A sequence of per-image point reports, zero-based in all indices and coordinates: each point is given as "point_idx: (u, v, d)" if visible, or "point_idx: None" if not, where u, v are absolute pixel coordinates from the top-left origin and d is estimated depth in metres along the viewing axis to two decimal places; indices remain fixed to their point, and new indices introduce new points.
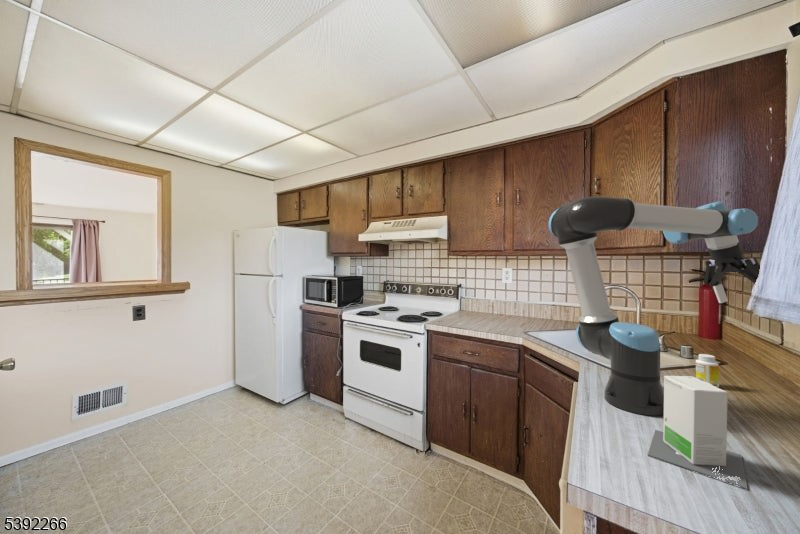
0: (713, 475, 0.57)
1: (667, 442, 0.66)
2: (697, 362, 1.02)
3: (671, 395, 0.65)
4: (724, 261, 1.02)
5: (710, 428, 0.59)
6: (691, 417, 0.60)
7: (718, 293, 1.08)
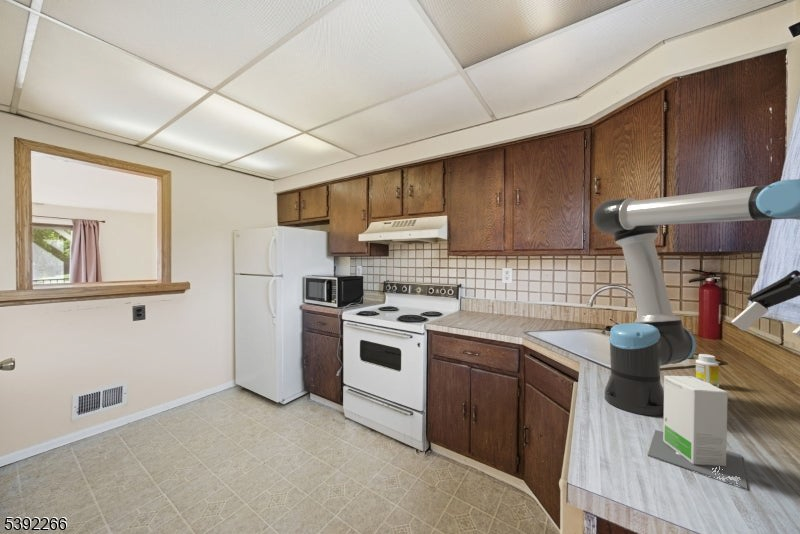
0: (713, 475, 0.57)
1: (667, 442, 0.66)
2: (697, 362, 1.02)
3: (671, 395, 0.65)
4: None
5: (710, 428, 0.59)
6: (691, 417, 0.60)
7: (748, 311, 0.67)
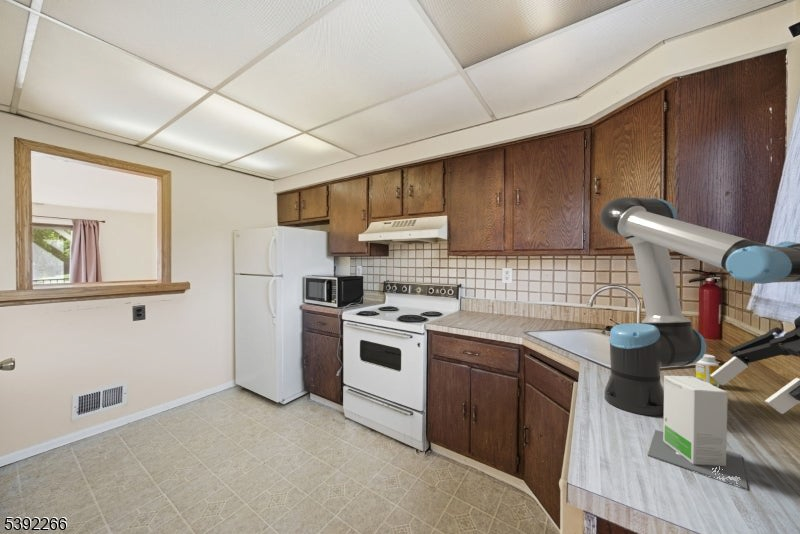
0: (713, 475, 0.57)
1: (667, 442, 0.66)
2: (697, 362, 1.02)
3: (671, 395, 0.65)
4: None
5: (710, 428, 0.59)
6: (691, 417, 0.60)
7: (727, 366, 0.66)
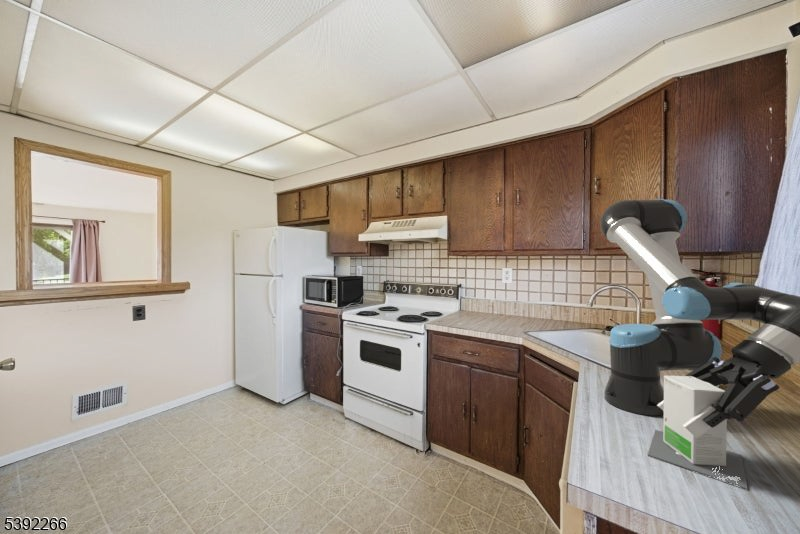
0: (713, 475, 0.57)
1: (667, 442, 0.66)
2: None
3: (671, 395, 0.65)
4: (739, 363, 0.62)
5: None
6: (691, 417, 0.60)
7: None
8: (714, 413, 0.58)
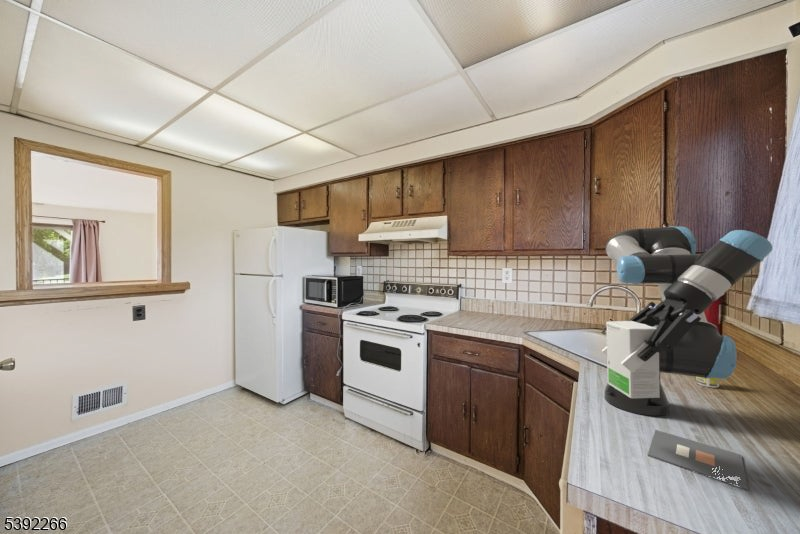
0: (713, 475, 0.57)
1: (610, 383, 0.71)
2: None
3: (612, 338, 0.69)
4: (669, 304, 0.66)
5: (644, 364, 0.64)
6: (628, 355, 0.65)
7: None
8: (647, 348, 0.62)
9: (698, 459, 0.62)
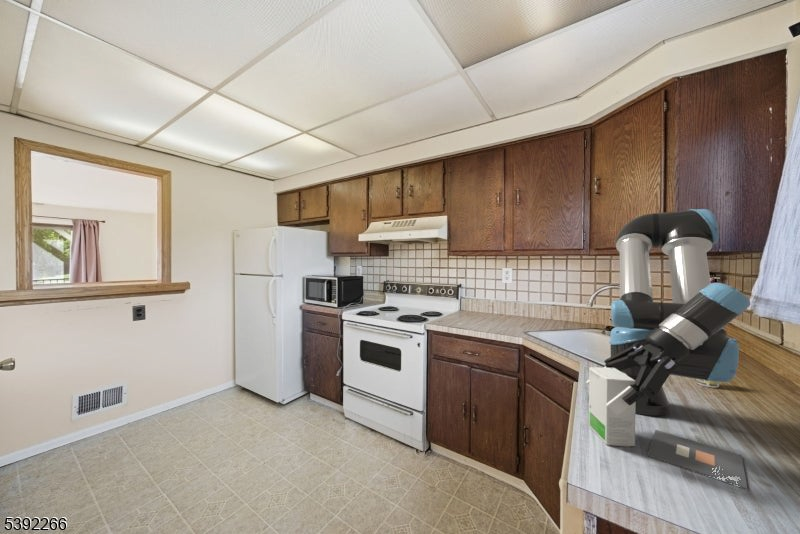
0: (713, 475, 0.57)
1: (591, 427, 0.74)
2: None
3: (593, 384, 0.73)
4: (649, 349, 0.69)
5: (620, 413, 0.67)
6: (605, 403, 0.68)
7: None
8: (632, 392, 0.63)
9: (698, 459, 0.62)
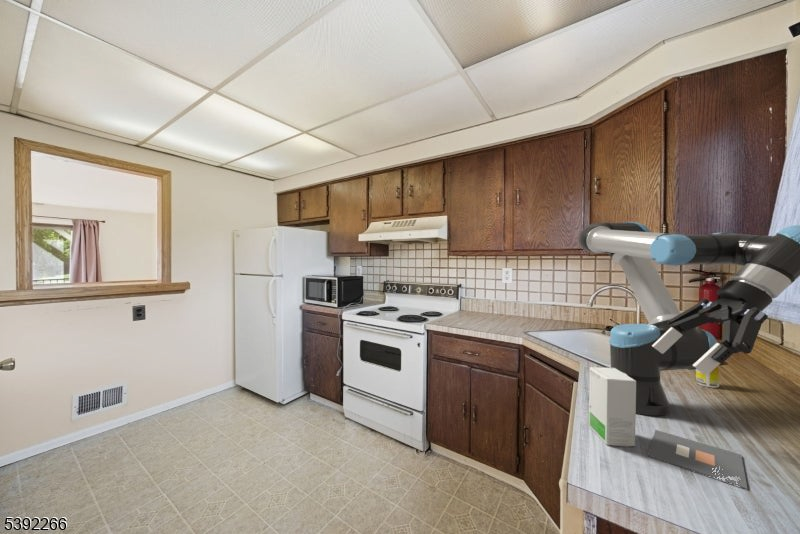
0: (713, 475, 0.57)
1: (591, 427, 0.74)
2: None
3: (593, 384, 0.73)
4: (725, 303, 0.66)
5: (620, 413, 0.67)
6: (605, 403, 0.68)
7: (665, 336, 0.74)
8: (722, 349, 0.59)
9: (698, 459, 0.62)
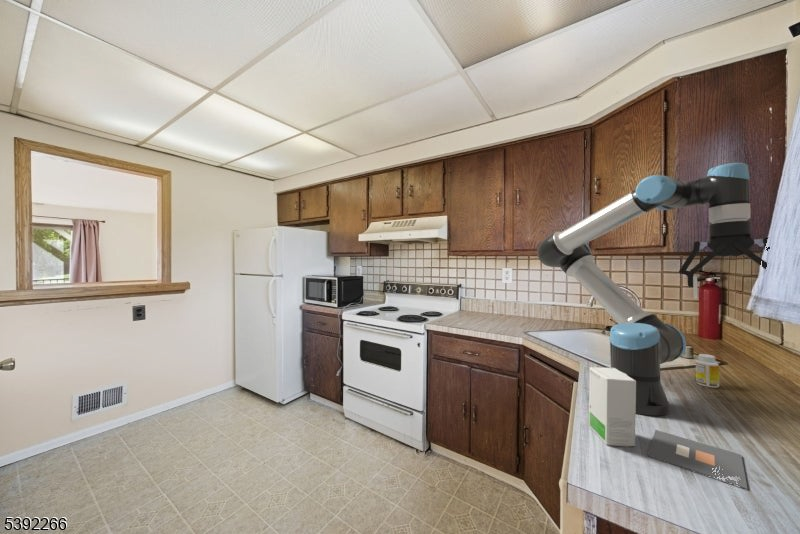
0: (713, 475, 0.57)
1: (591, 427, 0.74)
2: (697, 362, 1.02)
3: (593, 384, 0.73)
4: (727, 241, 0.79)
5: (620, 413, 0.67)
6: (605, 403, 0.68)
7: (696, 286, 0.83)
8: None
9: (698, 459, 0.62)
